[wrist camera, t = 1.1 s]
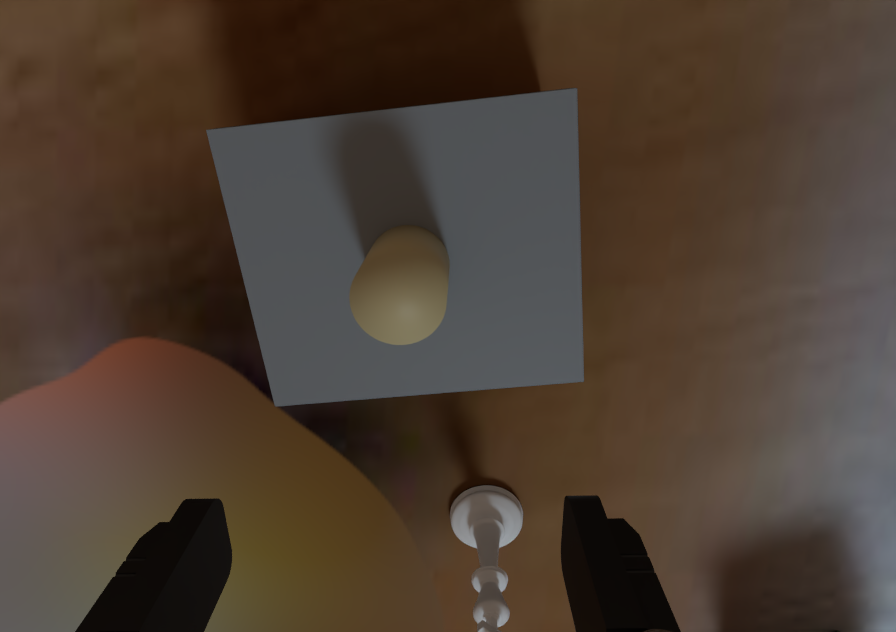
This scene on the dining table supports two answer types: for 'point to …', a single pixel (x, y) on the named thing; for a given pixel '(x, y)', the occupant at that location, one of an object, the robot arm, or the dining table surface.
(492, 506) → the chess piece
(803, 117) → the dining table surface
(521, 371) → the lid
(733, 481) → the dining table surface
